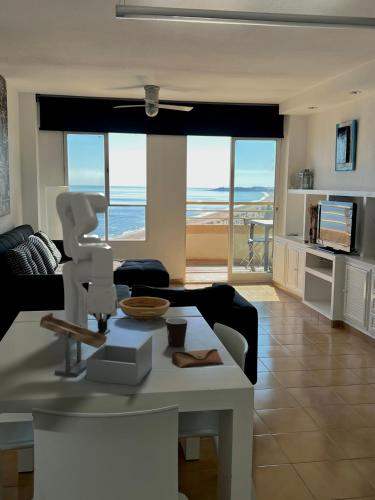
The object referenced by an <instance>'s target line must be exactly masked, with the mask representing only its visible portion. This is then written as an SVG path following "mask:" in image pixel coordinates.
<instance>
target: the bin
mask: <svg viewBox="0 0 375 500" xmlns="http://www.w3.org/2000/svg"><path fill="white" fill-rule="evenodd" d="M85 360H86V369H85V372H86V373H85V375H86V376H85V377H86V381H92V382H101V383H110V384H119V385H128V386H133V387H134V386H135V387H138V386H139V385H140V384H141V383H142V381H143V380H144V379H145V377H147V375H148V374H149V372H150V371H152V368H153V334H150V335H148V337H146V339H144V341H142V342H141V344H140V345H139V346H138V347H135V346H125V345H116V344H115V345H114V344H106V343H104V344H103V345H102V346H101V347H99V348H97V350H95V352H93V353H92V354H91V355H89V357H87V358H86V359H85Z"/></svg>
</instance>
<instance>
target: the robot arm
mask: <svg viewBox="0 0 375 500" xmlns="http://www.w3.org/2000/svg"><path fill="white" fill-rule="evenodd" d="M108 207H109V202H108V199H107V197H106V195H105V194H104V193H103V192H99V191H98V192H93V191H92V192H90V191H66V192H64V191H63V192H61V193H59V194H58V195H56V198H55V208H56V212H57V213H56V214H57V217H59V221H60V223H61V229H62V241H63V250H64V254H65V256H67V257H68V258H72V260H70V261H67V262H65V263H64V264H63V265H62V267H61V273H62V279H63V288H64V290H63V291H64V321H67V322H70V323H72V324H75V325H81V327H83V328H86V329H88V330H91V329H90V328H89V315H90V316H93V317H94V318H95V320H96V322H97V329H98V330H99V332H102V333H104V332H105V331H106V330H107V329H108V320H110V318H114V317H117V316H118V295H117V288H116V284H114V249H113V246H110V245H109V244H108V243H106V242H102V240H101V237H100V236H99V235H97V234H92V232H94V231H95V230H96V229H97V228H98V226H99V219H98V218H99V217H98V216H97V214H105V213H106V212H107V210H108ZM85 283H90V284H89V285H88V288H87V289H88V290H87V289H86V288H85V287H84V286H83V284H85ZM61 336H62V337H63V338H65V336H64V335H61Z"/></svg>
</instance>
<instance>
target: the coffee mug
mask: <svg viewBox="0 0 375 500" xmlns="http://www.w3.org/2000/svg"><path fill="white" fill-rule="evenodd" d="M165 325H166V332H167V333H166V334H167V343H168V346H169V347H170V348H173V347H174V348H175V349H178V348H183V347H185V342H186V336H187V329H188V319H186V318H182V317H181V318H180V317H171V318H168V319H166V320H165Z"/></svg>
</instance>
